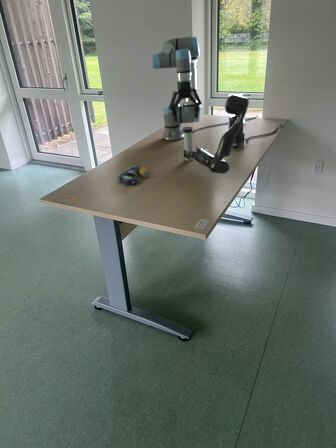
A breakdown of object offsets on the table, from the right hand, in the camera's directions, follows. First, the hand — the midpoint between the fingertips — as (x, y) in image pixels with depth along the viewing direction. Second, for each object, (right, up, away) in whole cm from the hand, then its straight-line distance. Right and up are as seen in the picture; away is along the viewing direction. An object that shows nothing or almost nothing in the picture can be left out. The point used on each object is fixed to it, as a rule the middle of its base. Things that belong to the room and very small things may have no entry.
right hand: (190, 150), depth 203 cm
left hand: (-3, +16, -7) cm, 18 cm away
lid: (-2, +12, -5) cm, 13 cm away
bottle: (-1, -5, +5) cm, 7 cm away
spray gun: (-32, -19, -14) cm, 40 cm away
